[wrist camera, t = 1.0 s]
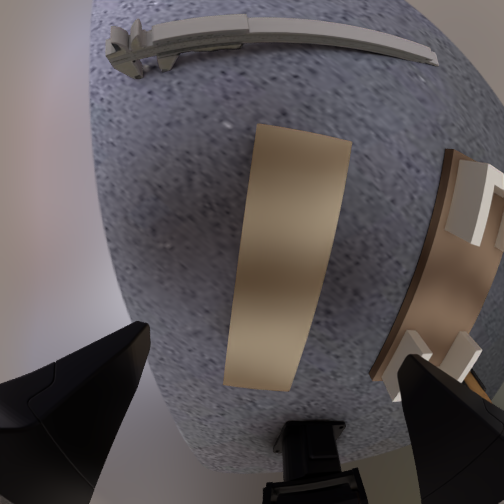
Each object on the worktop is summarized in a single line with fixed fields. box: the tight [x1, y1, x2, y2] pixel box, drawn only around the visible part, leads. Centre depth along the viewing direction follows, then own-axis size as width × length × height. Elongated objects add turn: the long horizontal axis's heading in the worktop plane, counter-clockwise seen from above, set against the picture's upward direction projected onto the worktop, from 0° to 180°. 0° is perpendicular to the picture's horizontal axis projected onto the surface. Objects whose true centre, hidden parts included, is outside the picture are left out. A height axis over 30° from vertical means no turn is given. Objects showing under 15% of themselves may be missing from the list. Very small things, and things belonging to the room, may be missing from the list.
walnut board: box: [369, 149, 504, 381], centre depth 17 cm, size 19×9×1 cm, turn 171°
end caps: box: [382, 160, 504, 402], centre depth 15 cm, size 18×8×3 cm, turn 171°
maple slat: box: [223, 123, 352, 392], centre depth 15 cm, size 14×4×5 cm, turn 172°
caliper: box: [106, 14, 439, 79], centre depth 10 cm, size 20×1×6 cm, turn 97°
